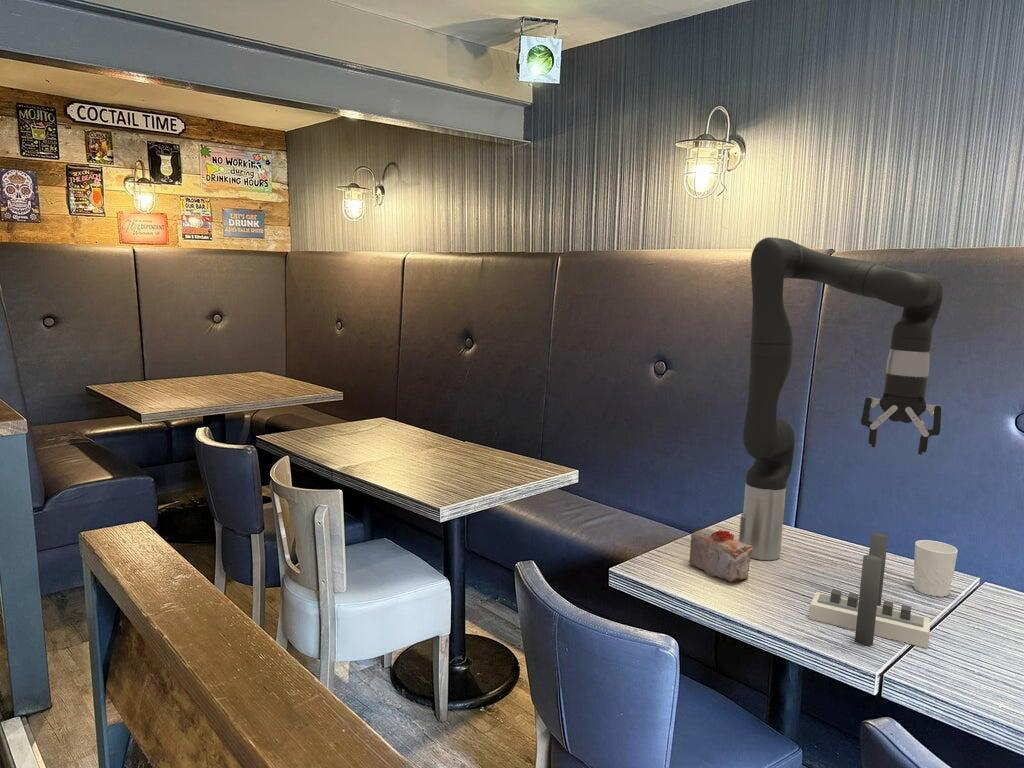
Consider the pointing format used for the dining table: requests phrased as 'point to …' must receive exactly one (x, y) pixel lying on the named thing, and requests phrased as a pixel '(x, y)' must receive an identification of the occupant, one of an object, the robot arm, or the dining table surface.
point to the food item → (720, 554)
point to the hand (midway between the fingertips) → (896, 450)
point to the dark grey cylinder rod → (879, 549)
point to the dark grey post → (868, 600)
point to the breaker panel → (886, 623)
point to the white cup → (934, 567)
